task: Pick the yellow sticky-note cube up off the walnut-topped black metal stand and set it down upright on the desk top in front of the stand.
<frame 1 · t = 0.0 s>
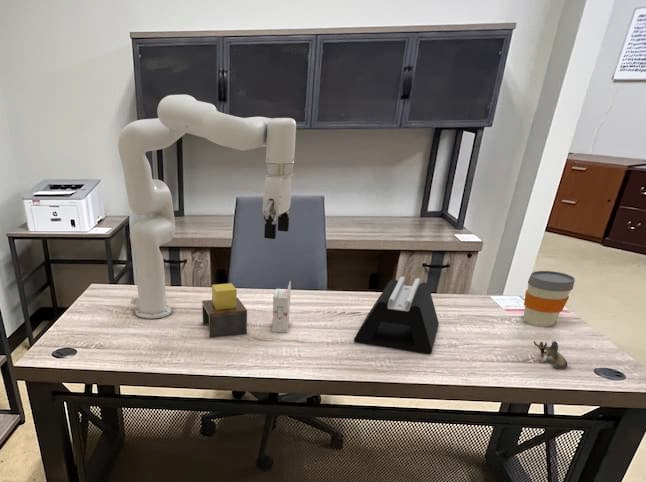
hand: (276, 234, 152), 31 cm above the table, tool pointing down, fingers open, 9 cm apart
device stand: (396, 334, 167), on the table
ink cartridge box: (280, 328, 173), on the table
reusable coffee cup: (538, 321, 174), on the table
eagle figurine: (549, 362, 149), on the table
sticky-note cube: (224, 305, 169), point 8 cm above the table, touching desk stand
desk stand: (224, 328, 173), on the table
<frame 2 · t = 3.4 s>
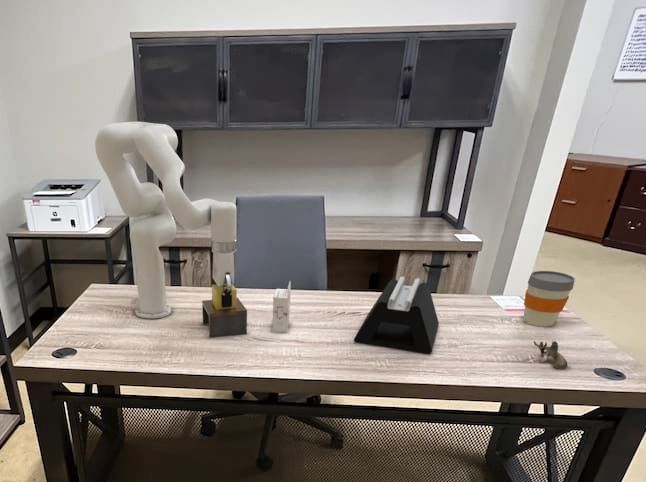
hand: (224, 302, 168), 9 cm above the table, tool pointing down, fingers closed on sticky-note cube, 6 cm apart
sticky-note cube: (224, 305, 169), point 8 cm above the table, touching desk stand, gripper
everything else where it was.
when the fingers open (1 cm above the table, at t = 12.0 s): sticky-note cube stays where it is, on the table.
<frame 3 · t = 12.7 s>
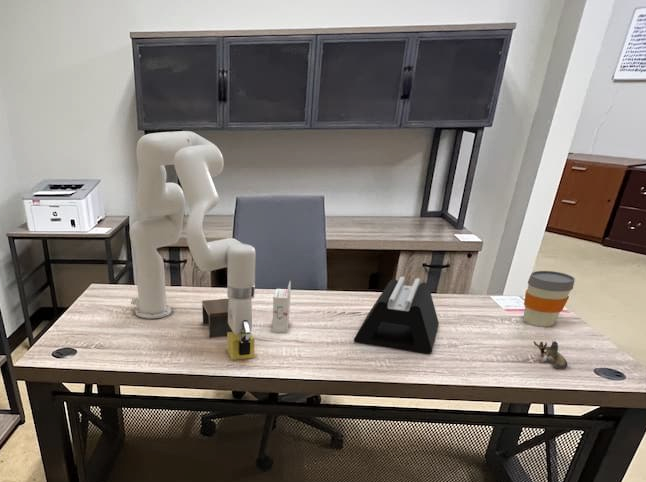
hand: (240, 347, 155), 2 cm above the table, tool pointing down, fingers open, 9 cm apart
sticky-note cube: (240, 354, 156), on the table
everything else where it was.
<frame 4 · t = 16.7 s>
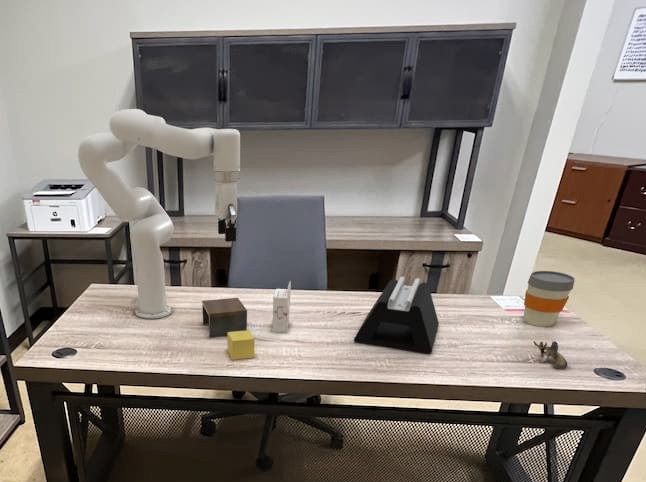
hand: (226, 237, 162), 28 cm above the table, tool pointing down, fingers open, 9 cm apart
nothing on the table moved.
at the end: sticky-note cube inside the target area (0.1 cm from its centre), on the table; sticky-note cube tilted 0°; the gripper is holding nothing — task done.
